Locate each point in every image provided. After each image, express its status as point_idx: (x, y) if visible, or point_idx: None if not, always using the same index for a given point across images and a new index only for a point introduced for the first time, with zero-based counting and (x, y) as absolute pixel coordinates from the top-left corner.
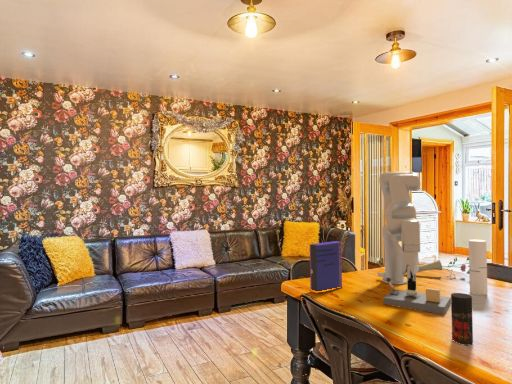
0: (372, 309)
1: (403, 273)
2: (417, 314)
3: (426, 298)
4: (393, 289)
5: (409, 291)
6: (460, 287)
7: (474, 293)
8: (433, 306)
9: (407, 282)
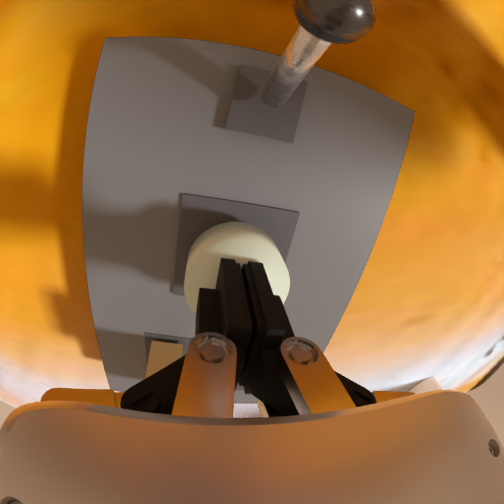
0: (18, 43)
1: (14, 419)
2: (46, 272)
3: (150, 353)
4: (265, 93)
5: (187, 269)
6: (466, 350)
7: (411, 390)
8: (104, 357)
9: (225, 308)
